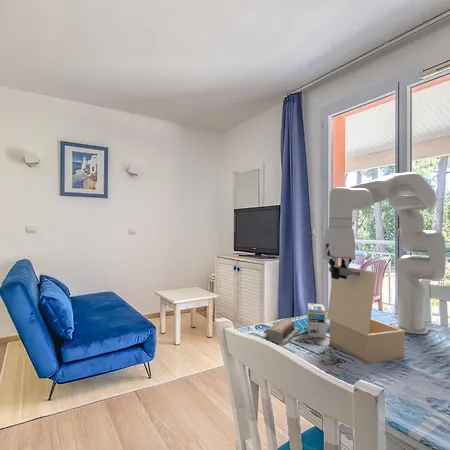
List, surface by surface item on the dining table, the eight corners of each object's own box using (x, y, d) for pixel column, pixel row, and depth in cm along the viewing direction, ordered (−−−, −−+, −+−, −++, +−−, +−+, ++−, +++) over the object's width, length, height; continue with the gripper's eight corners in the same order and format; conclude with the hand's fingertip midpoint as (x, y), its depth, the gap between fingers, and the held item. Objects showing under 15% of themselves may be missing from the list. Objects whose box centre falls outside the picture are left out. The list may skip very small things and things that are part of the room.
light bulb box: (326, 338, 122) (326, 310, 122) (308, 336, 124) (308, 309, 124) (323, 329, 133) (323, 303, 133) (306, 328, 134) (307, 302, 134)
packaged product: (286, 332, 115) (260, 327, 120) (286, 346, 115) (260, 340, 120) (300, 320, 130) (277, 316, 135) (300, 332, 130) (277, 327, 135)
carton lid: (336, 264, 118) (319, 262, 116) (376, 272, 101) (357, 269, 98) (329, 318, 118) (311, 317, 115) (368, 335, 100) (348, 334, 97)
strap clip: (324, 366, 98) (324, 353, 98) (318, 362, 101) (318, 349, 101) (346, 363, 101) (347, 350, 101) (340, 359, 104) (340, 346, 104)
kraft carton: (363, 338, 122) (364, 315, 122) (404, 357, 106) (404, 330, 106) (329, 343, 117) (330, 319, 117) (366, 363, 100) (367, 335, 100)
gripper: (351, 224, 113) (350, 276, 113) (313, 223, 108) (312, 277, 108) (367, 224, 106) (366, 279, 106) (327, 223, 101) (326, 281, 101)
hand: (338, 278), depth 107 cm, fingers closed on carton lid, 2 cm apart
